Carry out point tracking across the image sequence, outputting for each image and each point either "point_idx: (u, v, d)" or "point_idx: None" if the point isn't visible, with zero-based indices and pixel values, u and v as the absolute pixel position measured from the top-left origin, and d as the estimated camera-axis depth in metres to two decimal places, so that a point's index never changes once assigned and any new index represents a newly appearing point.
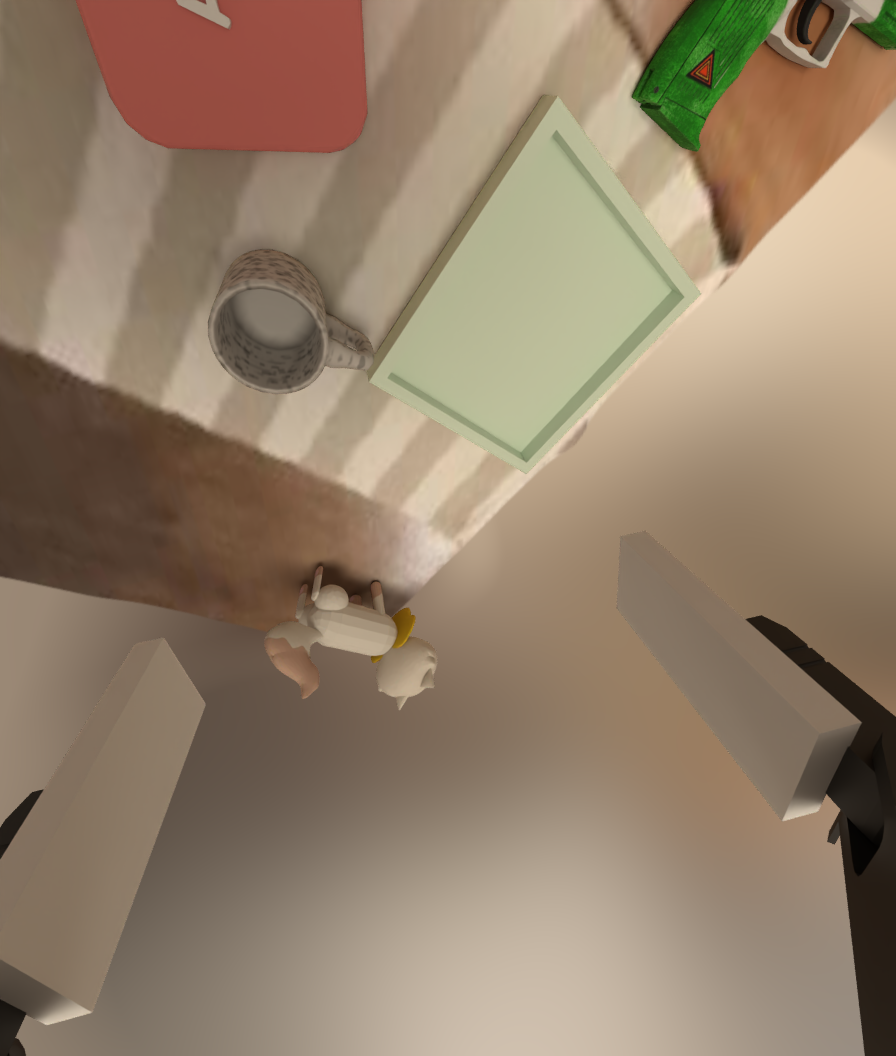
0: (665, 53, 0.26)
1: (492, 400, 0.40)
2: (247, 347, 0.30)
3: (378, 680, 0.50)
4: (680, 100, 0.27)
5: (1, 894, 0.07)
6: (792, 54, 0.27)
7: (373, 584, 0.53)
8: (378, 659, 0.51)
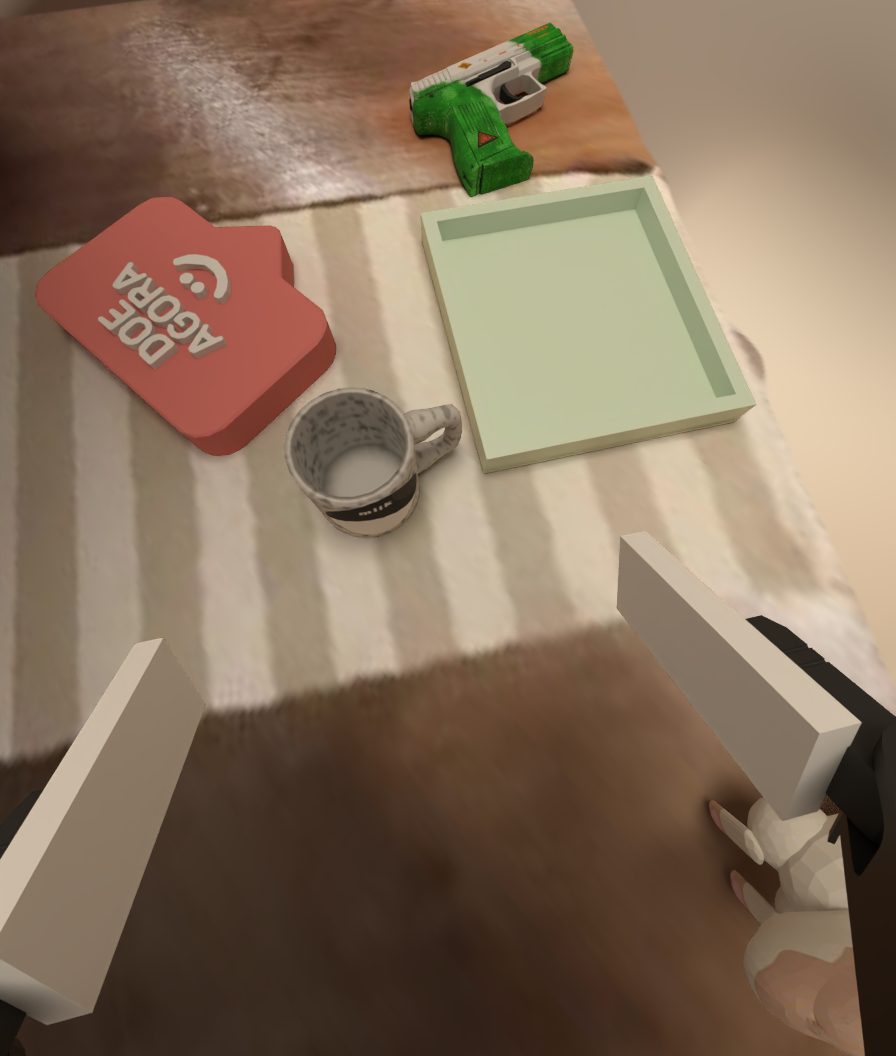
0: (459, 162, 0.35)
1: (619, 391, 0.31)
2: None
3: None
4: (489, 153, 0.35)
5: (1, 894, 0.07)
6: (523, 104, 0.37)
7: None
8: None
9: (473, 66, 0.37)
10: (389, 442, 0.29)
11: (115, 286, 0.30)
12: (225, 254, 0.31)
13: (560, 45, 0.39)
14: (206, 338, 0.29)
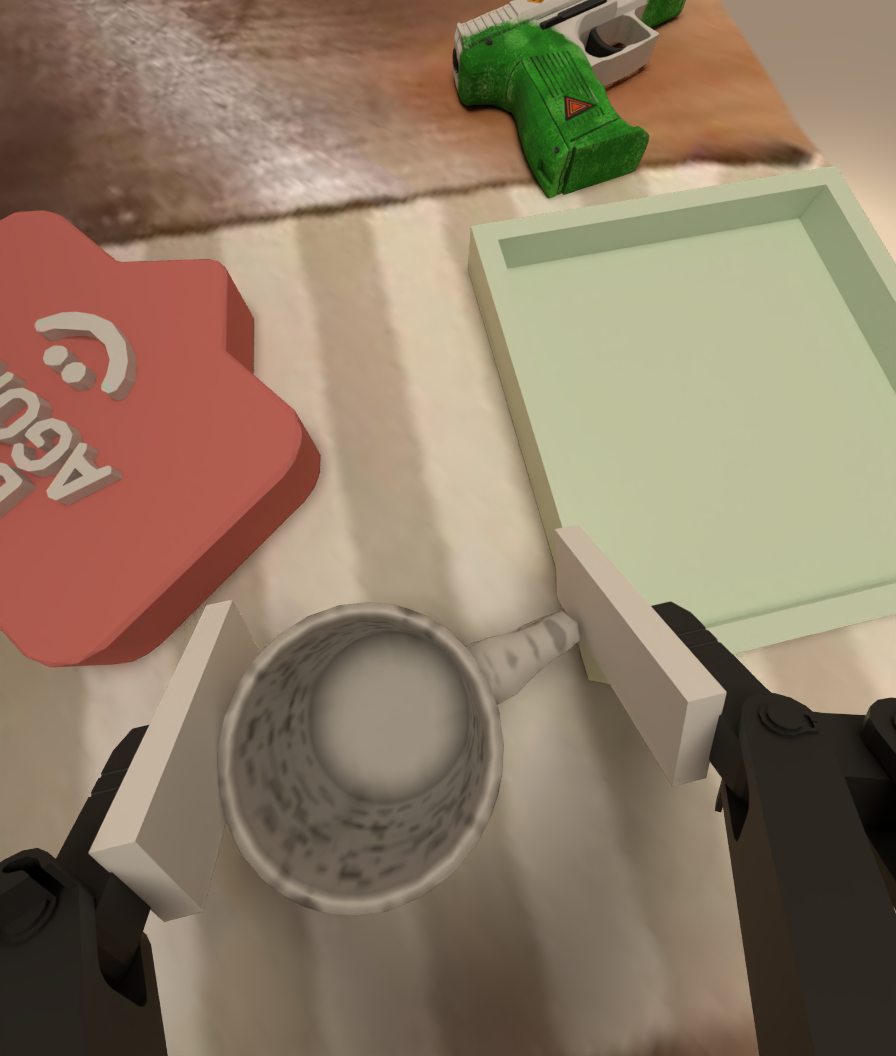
0: (534, 145, 0.23)
1: (812, 528, 0.18)
2: (381, 820, 0.14)
3: None
4: (584, 130, 0.22)
5: (134, 799, 0.08)
6: (624, 59, 0.25)
7: None
8: None
9: None
10: None
11: None
12: (131, 309, 0.18)
13: None
14: (81, 471, 0.16)
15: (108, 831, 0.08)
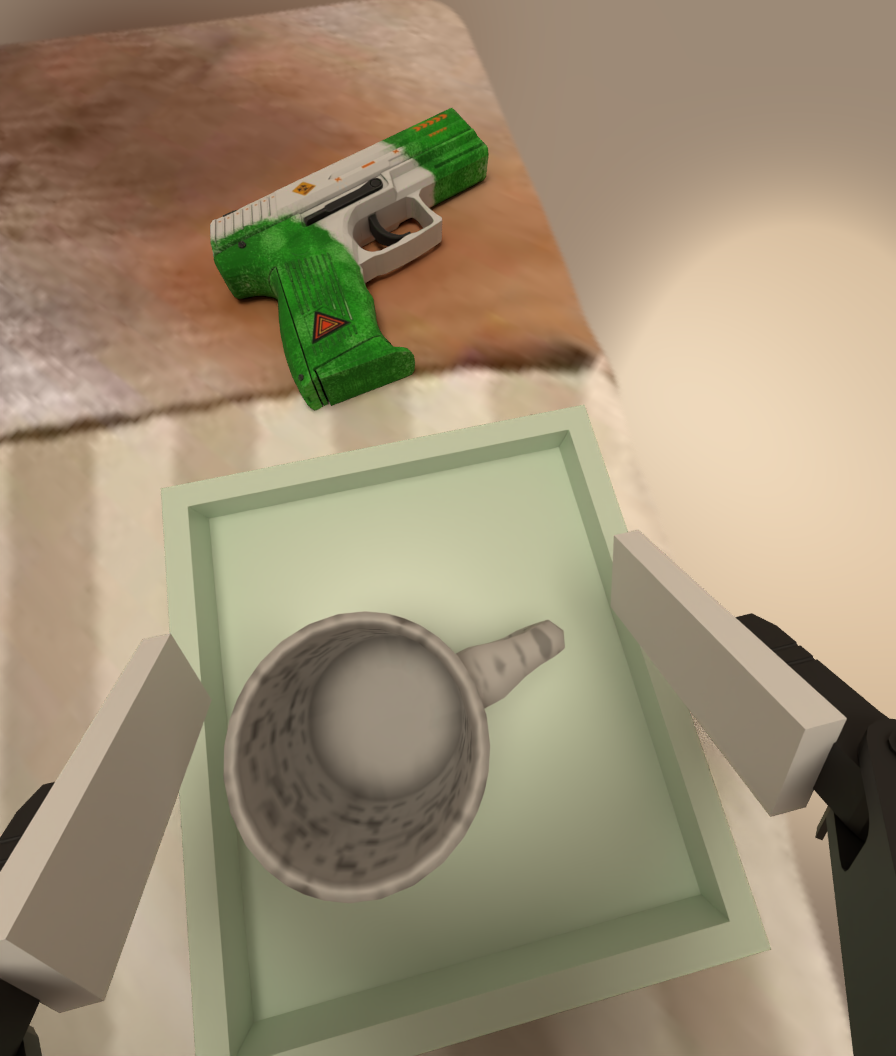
0: (287, 362, 0.21)
1: (510, 857, 0.16)
2: (377, 816, 0.15)
3: None
4: (331, 355, 0.20)
5: (16, 883, 0.07)
6: (403, 248, 0.23)
7: None
8: None
9: (316, 190, 0.22)
10: None
11: None
12: None
13: (467, 145, 0.24)
14: None
15: None
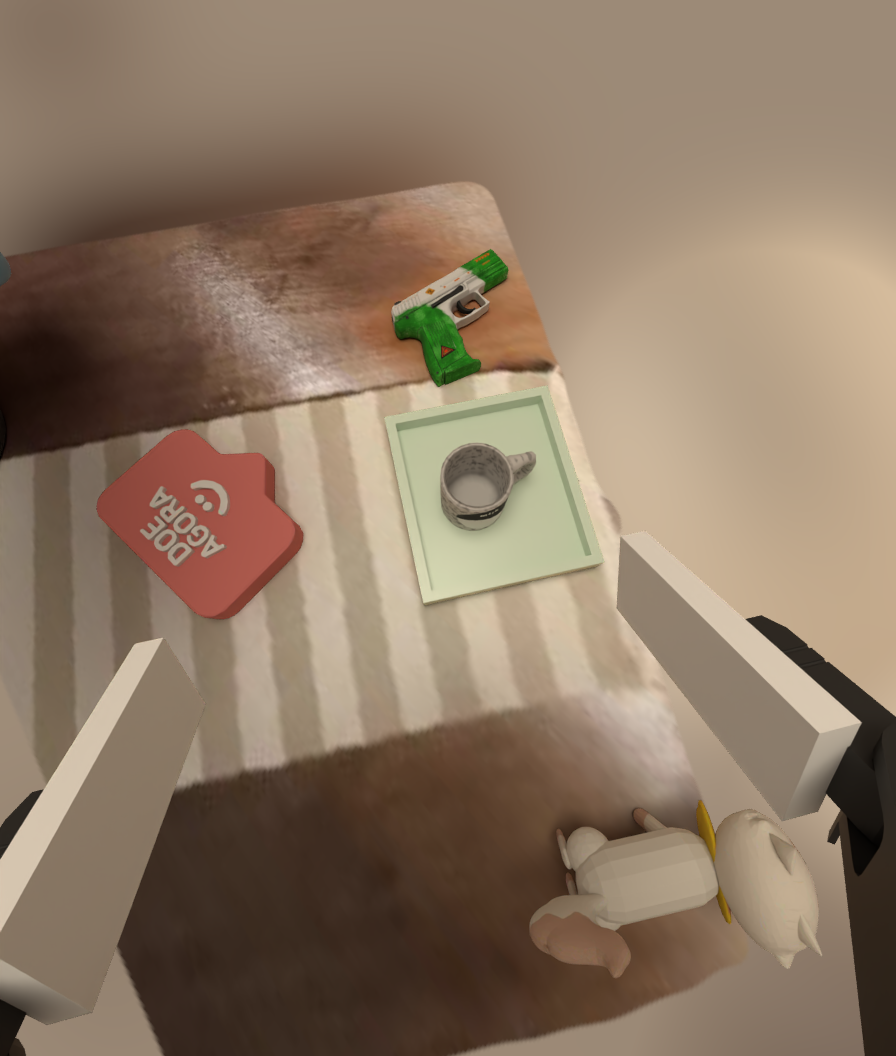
0: (429, 366, 0.50)
1: (518, 546, 0.46)
2: None
3: (752, 935, 0.29)
4: (449, 363, 0.49)
5: (1, 894, 0.07)
6: (473, 315, 0.52)
7: (634, 814, 0.39)
8: (725, 904, 0.31)
9: (436, 292, 0.52)
10: (487, 471, 0.46)
11: (151, 505, 0.44)
12: (226, 476, 0.45)
13: (498, 267, 0.54)
14: (213, 546, 0.43)
15: None
